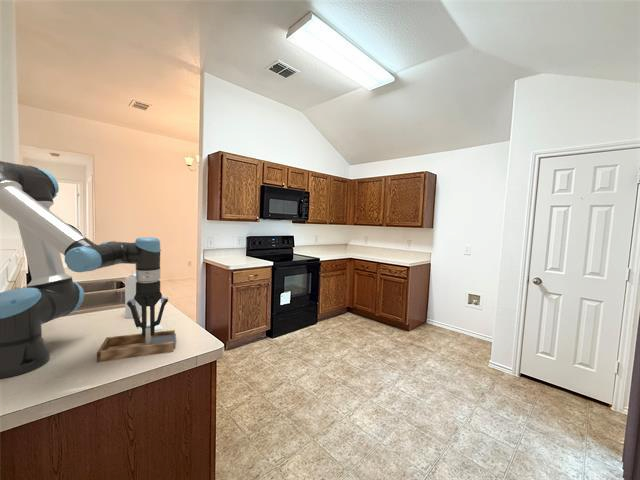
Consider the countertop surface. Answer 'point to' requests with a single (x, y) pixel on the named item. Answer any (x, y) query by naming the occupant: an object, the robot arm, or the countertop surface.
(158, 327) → the hard drive
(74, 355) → the countertop surface
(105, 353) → the box
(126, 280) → the milk
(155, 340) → the grey square tile
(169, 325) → the countertop surface
